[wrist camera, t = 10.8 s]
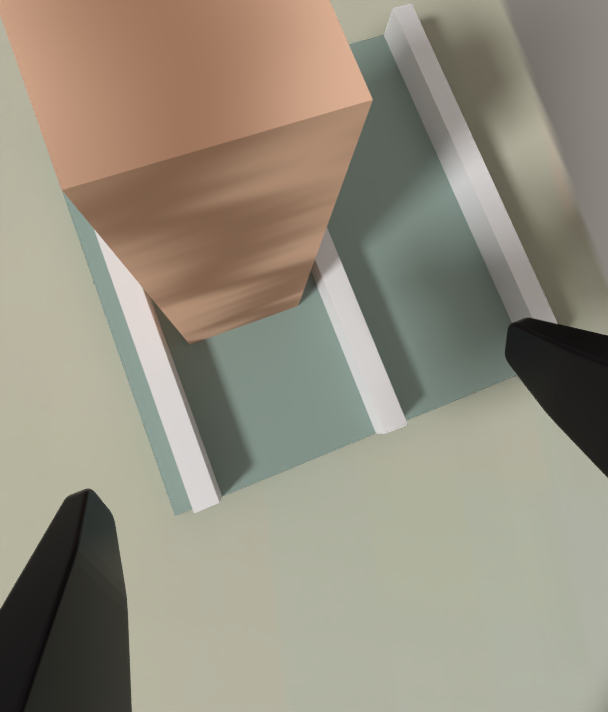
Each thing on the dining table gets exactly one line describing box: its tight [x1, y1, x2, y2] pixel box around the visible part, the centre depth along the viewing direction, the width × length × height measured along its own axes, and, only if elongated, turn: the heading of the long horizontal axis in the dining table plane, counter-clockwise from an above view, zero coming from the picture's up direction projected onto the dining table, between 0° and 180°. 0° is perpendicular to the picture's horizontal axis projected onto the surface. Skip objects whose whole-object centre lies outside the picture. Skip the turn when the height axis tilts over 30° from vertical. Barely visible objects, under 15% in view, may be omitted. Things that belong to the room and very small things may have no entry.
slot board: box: [62, 3, 558, 516], centre depth 20 cm, size 18×19×2 cm
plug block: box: [0, 0, 373, 345], centre depth 14 cm, size 5×5×13 cm
